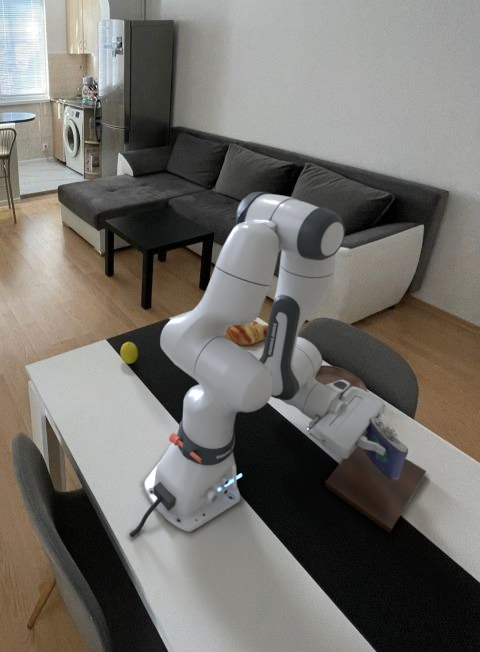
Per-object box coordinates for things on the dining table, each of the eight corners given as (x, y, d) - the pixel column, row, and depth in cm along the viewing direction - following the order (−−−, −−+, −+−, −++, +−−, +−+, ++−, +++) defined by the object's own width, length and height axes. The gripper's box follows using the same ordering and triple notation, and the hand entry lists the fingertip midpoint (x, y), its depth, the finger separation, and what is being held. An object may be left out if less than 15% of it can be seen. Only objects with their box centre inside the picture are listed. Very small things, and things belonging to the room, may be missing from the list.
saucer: (375, 413, 115) (377, 406, 114) (316, 408, 117) (317, 400, 116) (353, 374, 128) (354, 367, 127) (300, 370, 131) (301, 363, 130)
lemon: (118, 359, 140) (117, 339, 137) (133, 355, 141) (133, 335, 138) (124, 370, 135) (124, 350, 132) (140, 366, 136) (140, 346, 133)
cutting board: (390, 533, 87) (391, 529, 87) (324, 486, 97) (325, 481, 97) (424, 475, 98) (426, 470, 98) (362, 438, 108) (363, 433, 107)
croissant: (268, 337, 151) (265, 314, 152) (284, 342, 141) (280, 318, 142) (210, 343, 149) (207, 320, 150) (222, 349, 139) (219, 324, 140)
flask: (401, 480, 92) (413, 444, 88) (389, 482, 92) (400, 447, 88) (368, 443, 100) (378, 409, 96) (357, 445, 100) (366, 411, 96)
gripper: (304, 419, 96) (373, 462, 86) (346, 376, 107) (411, 409, 97) (301, 439, 99) (367, 483, 88) (342, 395, 110) (405, 430, 99)
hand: (390, 444), depth 93 cm, fingers closed on flask, 4 cm apart
